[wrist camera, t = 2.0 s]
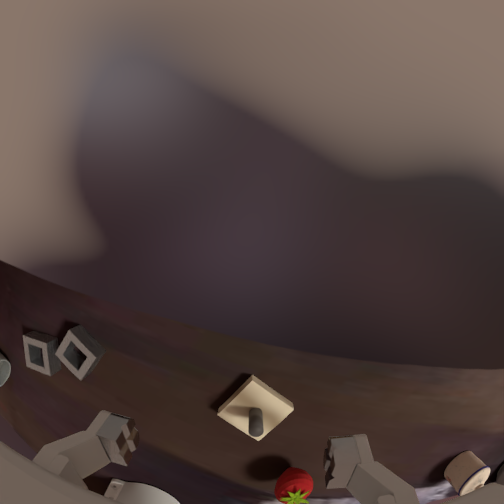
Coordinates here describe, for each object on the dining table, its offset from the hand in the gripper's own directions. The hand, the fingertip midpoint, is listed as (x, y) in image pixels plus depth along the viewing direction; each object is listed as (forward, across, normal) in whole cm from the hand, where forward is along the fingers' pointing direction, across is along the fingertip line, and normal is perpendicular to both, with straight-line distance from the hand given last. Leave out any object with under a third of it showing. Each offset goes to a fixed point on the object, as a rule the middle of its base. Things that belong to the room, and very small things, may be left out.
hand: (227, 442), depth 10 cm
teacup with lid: (+25, +49, -48) cm, 73 cm away
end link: (+26, -28, -15) cm, 41 cm away
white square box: (+25, -37, -16) cm, 47 cm away
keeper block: (+26, 0, -22) cm, 34 cm away
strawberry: (+24, +6, -36) cm, 44 cm away
